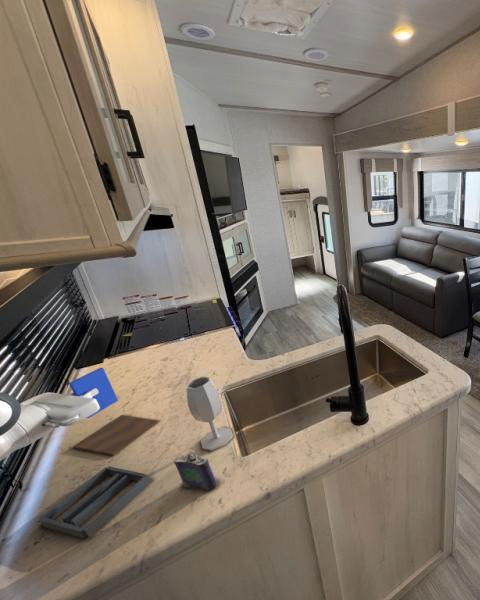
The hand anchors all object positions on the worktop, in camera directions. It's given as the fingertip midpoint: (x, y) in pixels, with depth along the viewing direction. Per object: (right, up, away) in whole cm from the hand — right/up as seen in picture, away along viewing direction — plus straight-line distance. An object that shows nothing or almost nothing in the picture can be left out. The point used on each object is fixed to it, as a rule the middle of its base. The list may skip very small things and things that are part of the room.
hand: (93, 389), depth 91 cm
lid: (0, -7, +2) cm, 7 cm away
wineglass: (+35, -17, +4) cm, 39 cm away
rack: (+16, -24, -14) cm, 32 cm away
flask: (+39, -22, -11) cm, 46 cm away
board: (0, -17, +8) cm, 19 cm away
